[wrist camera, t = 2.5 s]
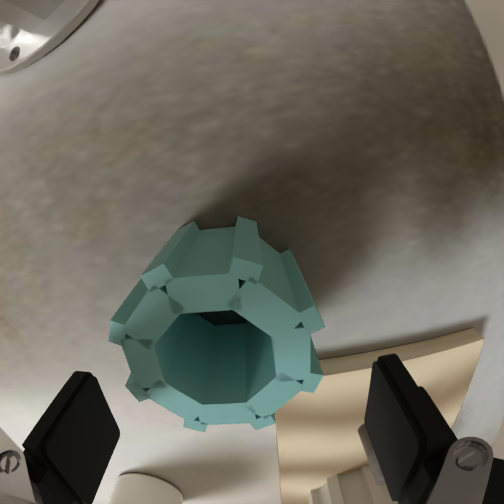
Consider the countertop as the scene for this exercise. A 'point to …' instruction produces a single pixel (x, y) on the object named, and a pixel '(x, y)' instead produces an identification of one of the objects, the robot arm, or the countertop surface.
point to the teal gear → (220, 328)
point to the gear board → (362, 410)
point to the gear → (351, 490)
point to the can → (144, 490)
